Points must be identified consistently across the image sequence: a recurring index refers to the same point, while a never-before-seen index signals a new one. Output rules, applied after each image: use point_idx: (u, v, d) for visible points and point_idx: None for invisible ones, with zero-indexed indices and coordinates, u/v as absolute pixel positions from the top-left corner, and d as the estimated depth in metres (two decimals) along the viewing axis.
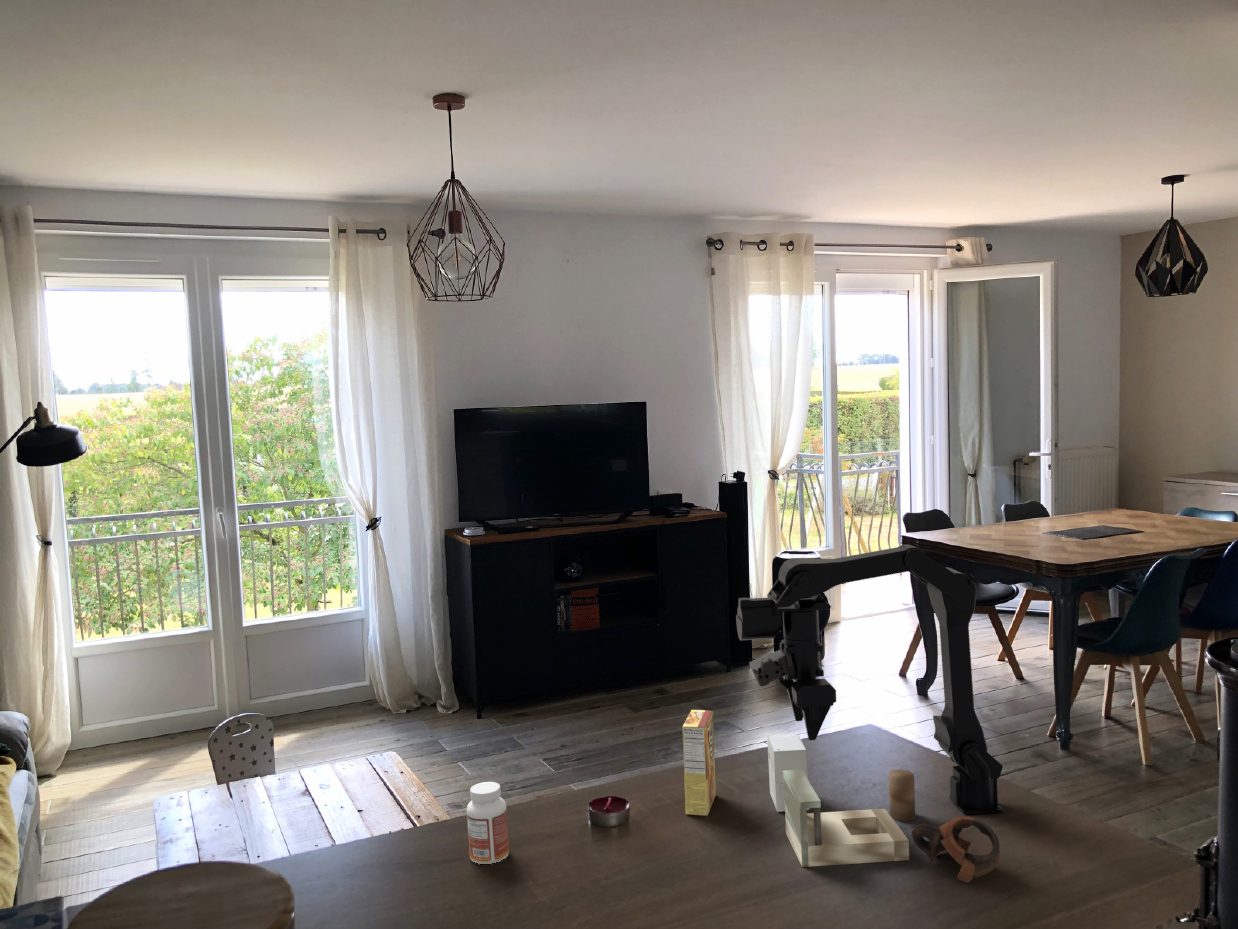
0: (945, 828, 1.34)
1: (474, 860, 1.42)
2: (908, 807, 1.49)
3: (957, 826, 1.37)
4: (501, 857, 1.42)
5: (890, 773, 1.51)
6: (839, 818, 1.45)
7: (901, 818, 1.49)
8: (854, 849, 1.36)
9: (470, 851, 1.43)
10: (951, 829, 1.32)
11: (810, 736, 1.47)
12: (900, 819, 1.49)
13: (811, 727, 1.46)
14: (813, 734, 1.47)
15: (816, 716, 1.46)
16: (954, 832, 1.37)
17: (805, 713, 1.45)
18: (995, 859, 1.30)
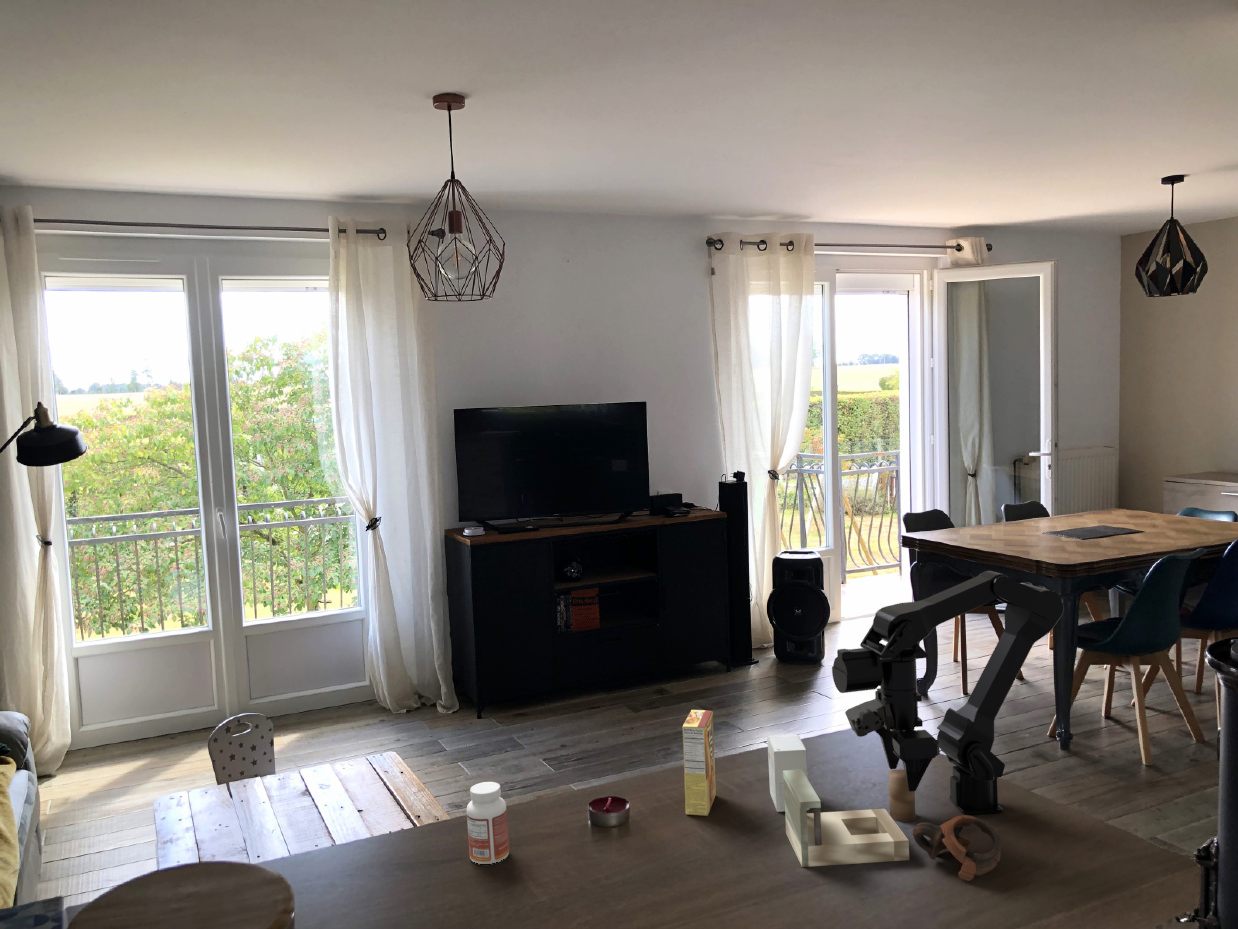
0: (946, 827, 1.34)
1: (474, 860, 1.42)
2: (908, 807, 1.49)
3: (958, 825, 1.37)
4: (501, 857, 1.42)
5: (890, 773, 1.51)
6: (839, 818, 1.45)
7: (901, 818, 1.49)
8: (854, 849, 1.36)
9: (470, 851, 1.43)
10: (952, 828, 1.32)
11: (910, 787, 1.46)
12: (900, 819, 1.49)
13: (912, 779, 1.45)
14: (914, 785, 1.46)
15: (917, 768, 1.45)
16: (955, 831, 1.38)
17: (906, 765, 1.44)
18: (996, 858, 1.30)
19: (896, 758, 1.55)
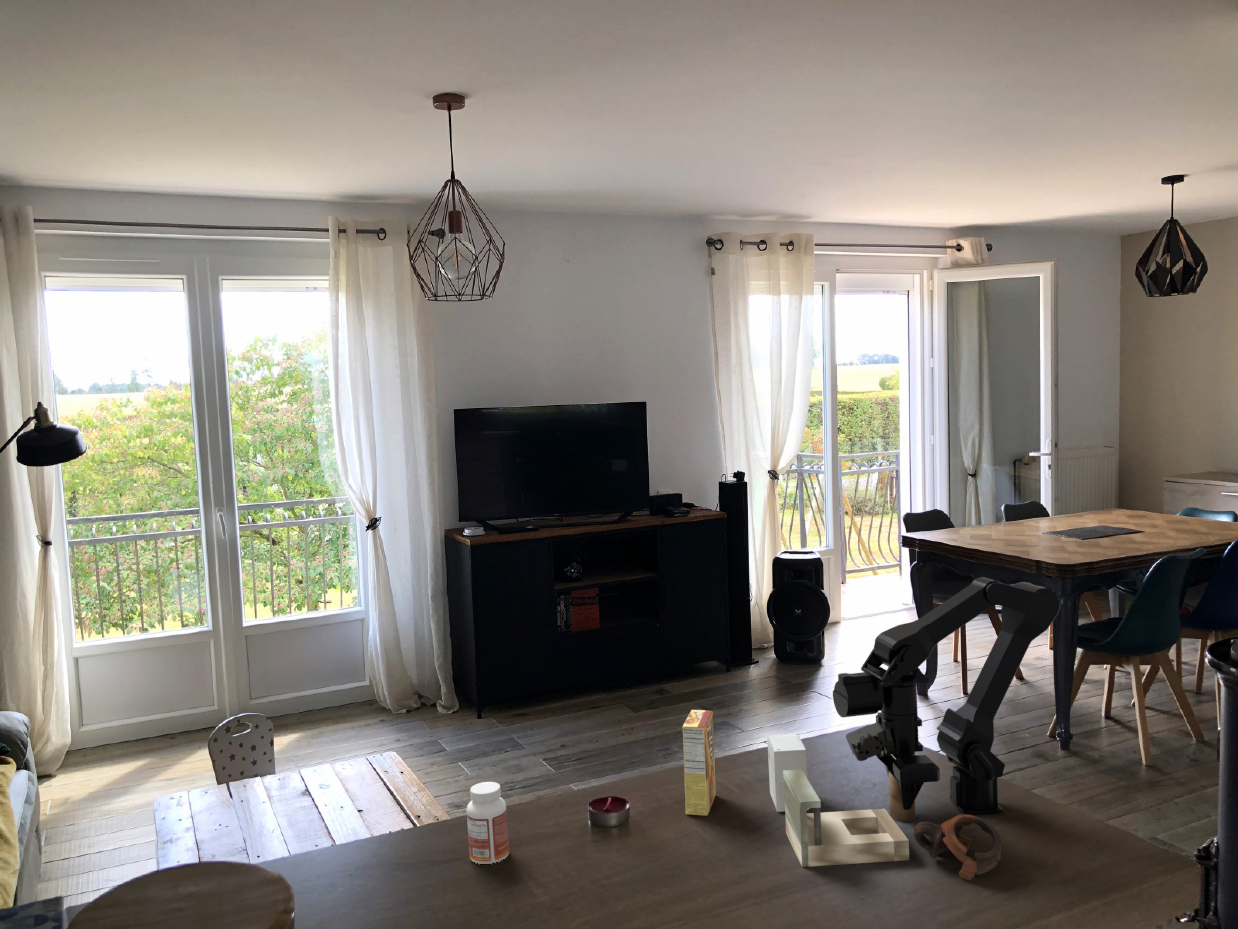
0: (947, 826, 1.34)
1: (474, 860, 1.42)
2: None
3: (958, 824, 1.37)
4: (501, 857, 1.42)
5: (890, 773, 1.51)
6: (839, 818, 1.45)
7: (901, 818, 1.49)
8: (854, 849, 1.36)
9: (470, 851, 1.43)
10: (953, 827, 1.33)
11: (905, 806, 1.49)
12: (900, 819, 1.49)
13: (906, 797, 1.48)
14: (908, 804, 1.48)
15: (912, 786, 1.48)
16: (955, 830, 1.38)
17: (901, 784, 1.47)
18: (996, 856, 1.31)
19: None
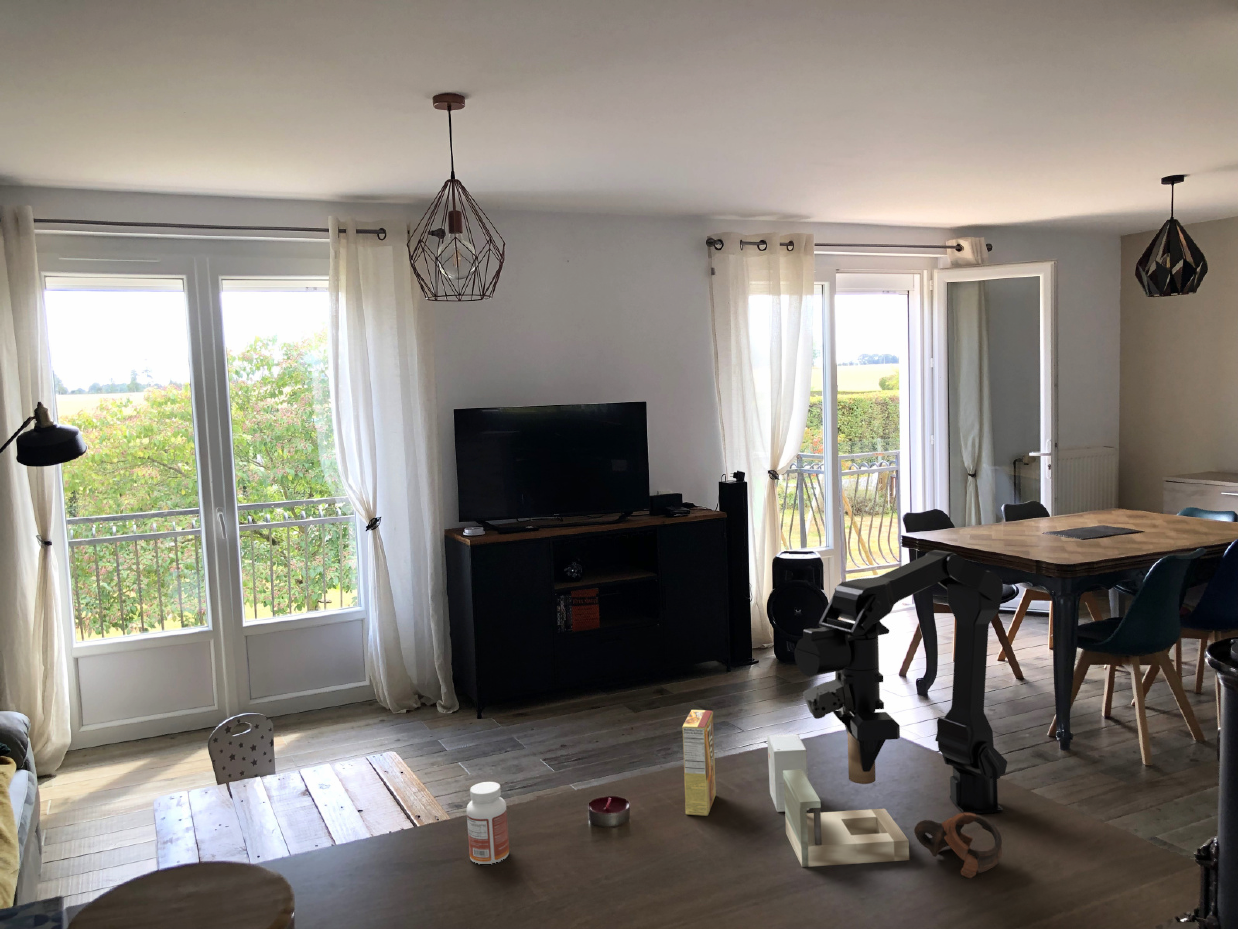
0: (948, 824, 1.35)
1: (474, 860, 1.42)
2: None
3: (959, 822, 1.38)
4: (501, 857, 1.42)
5: (849, 733, 1.42)
6: (839, 818, 1.45)
7: (860, 780, 1.40)
8: (854, 849, 1.36)
9: (470, 851, 1.43)
10: (954, 825, 1.33)
11: (864, 767, 1.39)
12: (859, 781, 1.40)
13: (866, 758, 1.38)
14: (868, 765, 1.39)
15: (871, 746, 1.38)
16: (956, 828, 1.39)
17: (860, 743, 1.37)
18: (998, 854, 1.31)
19: None
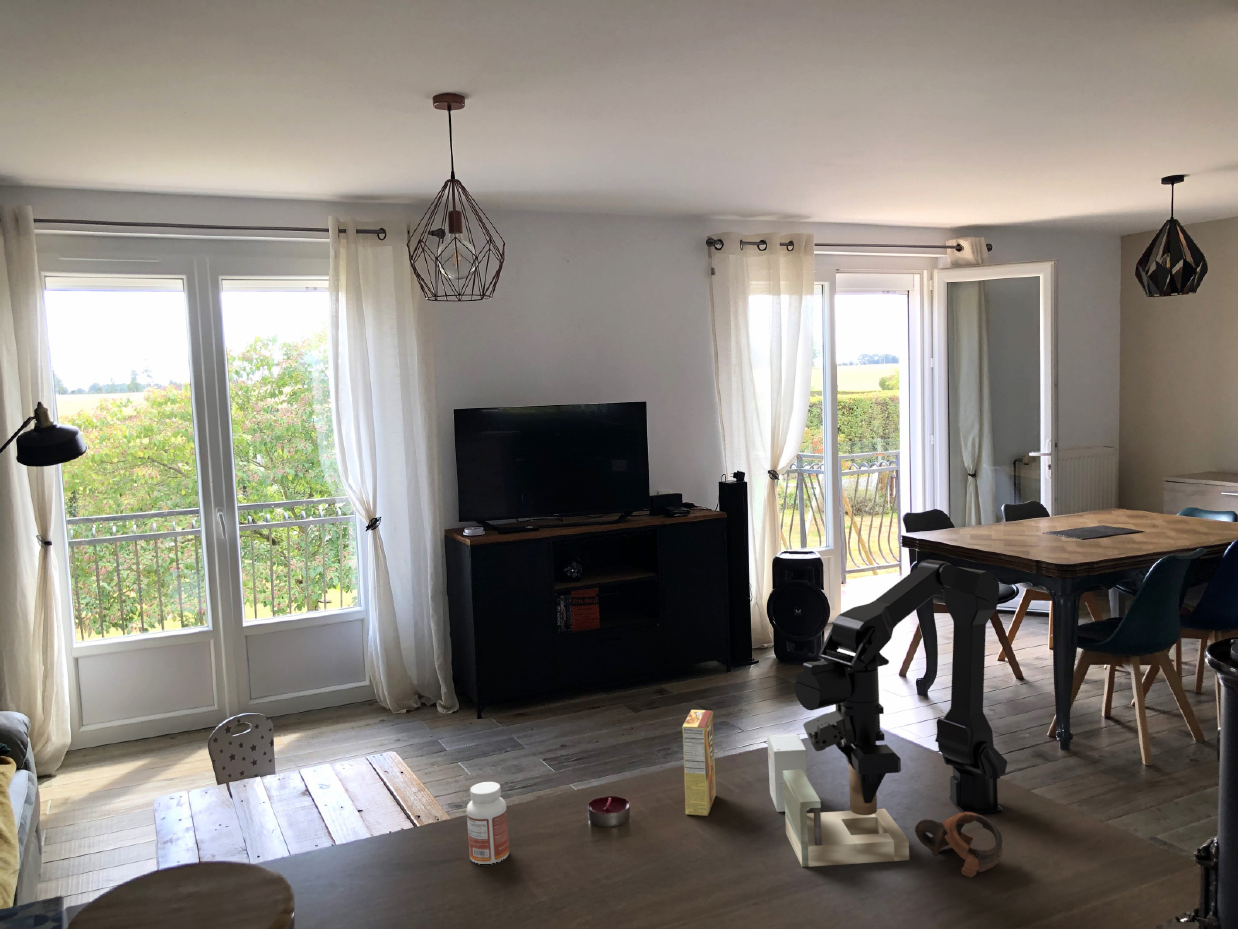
0: (948, 823, 1.35)
1: (474, 860, 1.42)
2: None
3: (960, 821, 1.38)
4: (501, 857, 1.42)
5: None
6: (839, 818, 1.45)
7: (861, 812, 1.40)
8: (854, 849, 1.36)
9: (470, 851, 1.43)
10: (955, 824, 1.33)
11: (866, 799, 1.39)
12: (860, 813, 1.40)
13: (867, 790, 1.38)
14: (869, 797, 1.39)
15: (873, 778, 1.38)
16: (956, 827, 1.39)
17: (861, 775, 1.37)
18: (998, 854, 1.32)
19: None
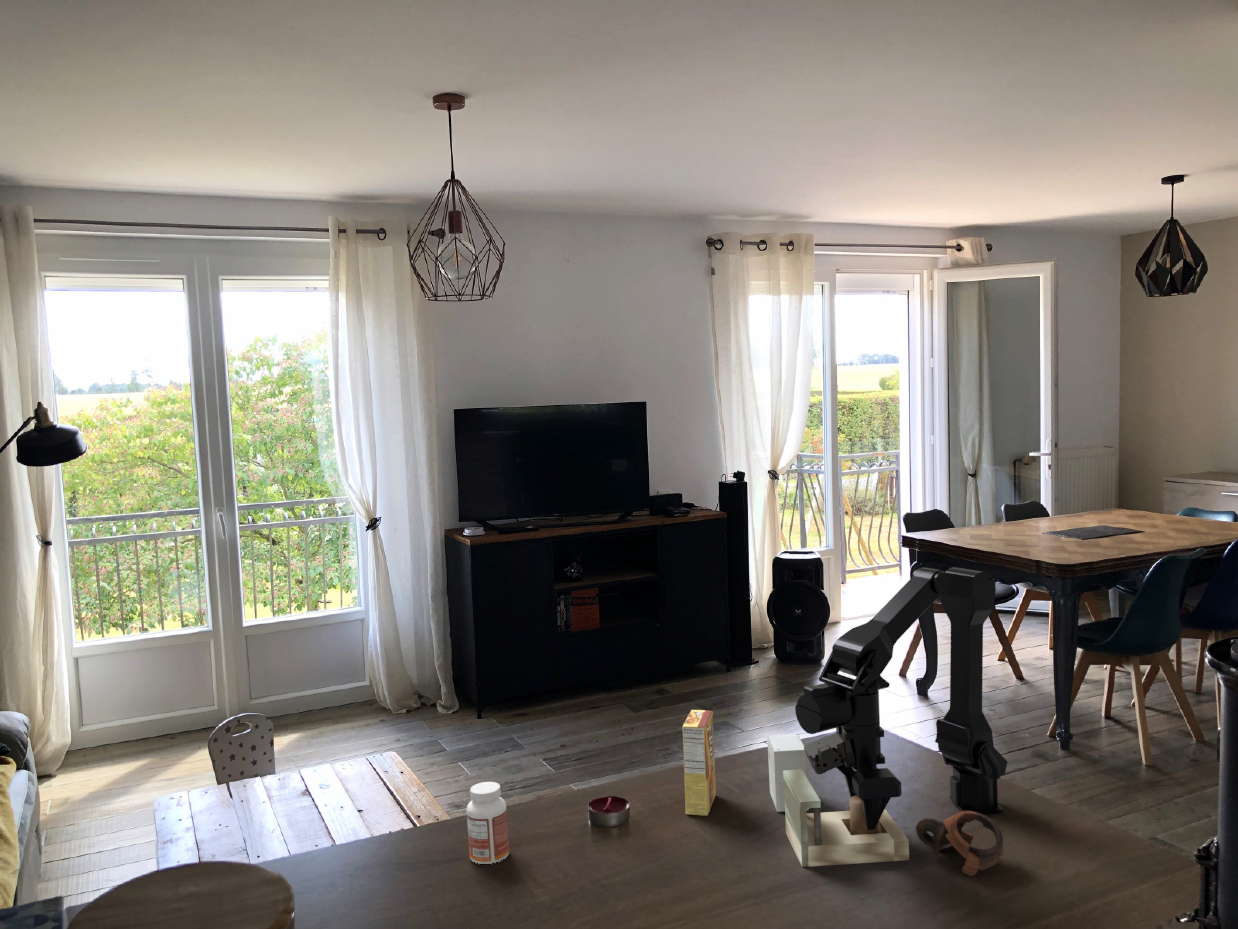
0: (949, 822, 1.35)
1: (474, 860, 1.42)
2: None
3: (960, 820, 1.39)
4: (501, 857, 1.42)
5: (851, 799, 1.42)
6: (839, 818, 1.45)
7: None
8: (854, 849, 1.36)
9: (470, 851, 1.43)
10: (955, 823, 1.34)
11: (869, 826, 1.38)
12: None
13: (870, 817, 1.37)
14: (873, 824, 1.38)
15: (876, 805, 1.37)
16: (957, 826, 1.39)
17: (864, 802, 1.36)
18: (999, 852, 1.32)
19: None
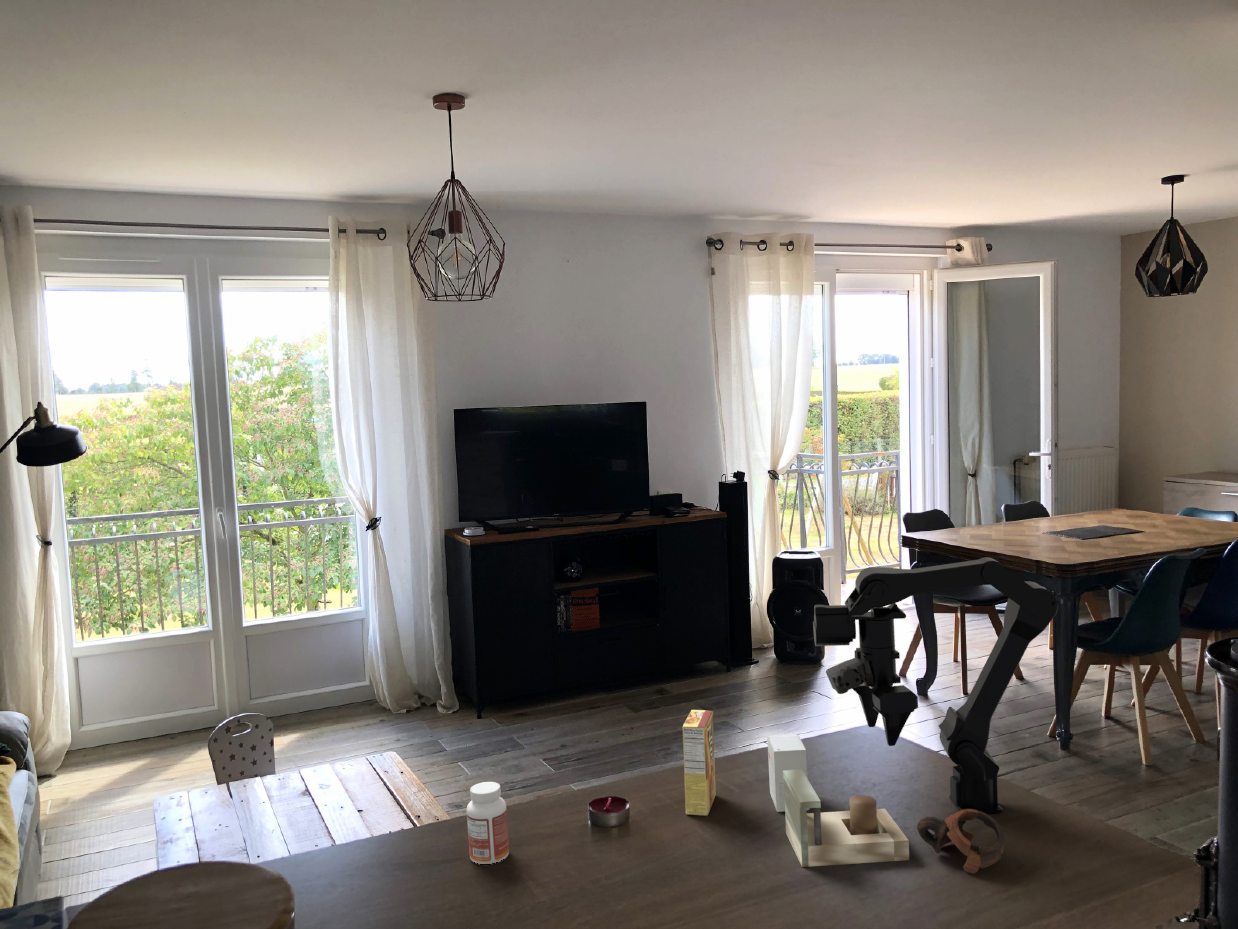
0: (950, 820, 1.36)
1: (474, 860, 1.42)
2: None
3: (961, 819, 1.39)
4: (501, 857, 1.42)
5: (851, 799, 1.42)
6: (839, 818, 1.45)
7: None
8: (854, 849, 1.36)
9: (470, 851, 1.43)
10: (957, 821, 1.34)
11: (890, 742, 1.50)
12: None
13: (891, 733, 1.49)
14: (893, 740, 1.50)
15: (896, 722, 1.49)
16: (958, 824, 1.40)
17: (886, 719, 1.48)
18: (1000, 850, 1.33)
19: (875, 716, 1.59)
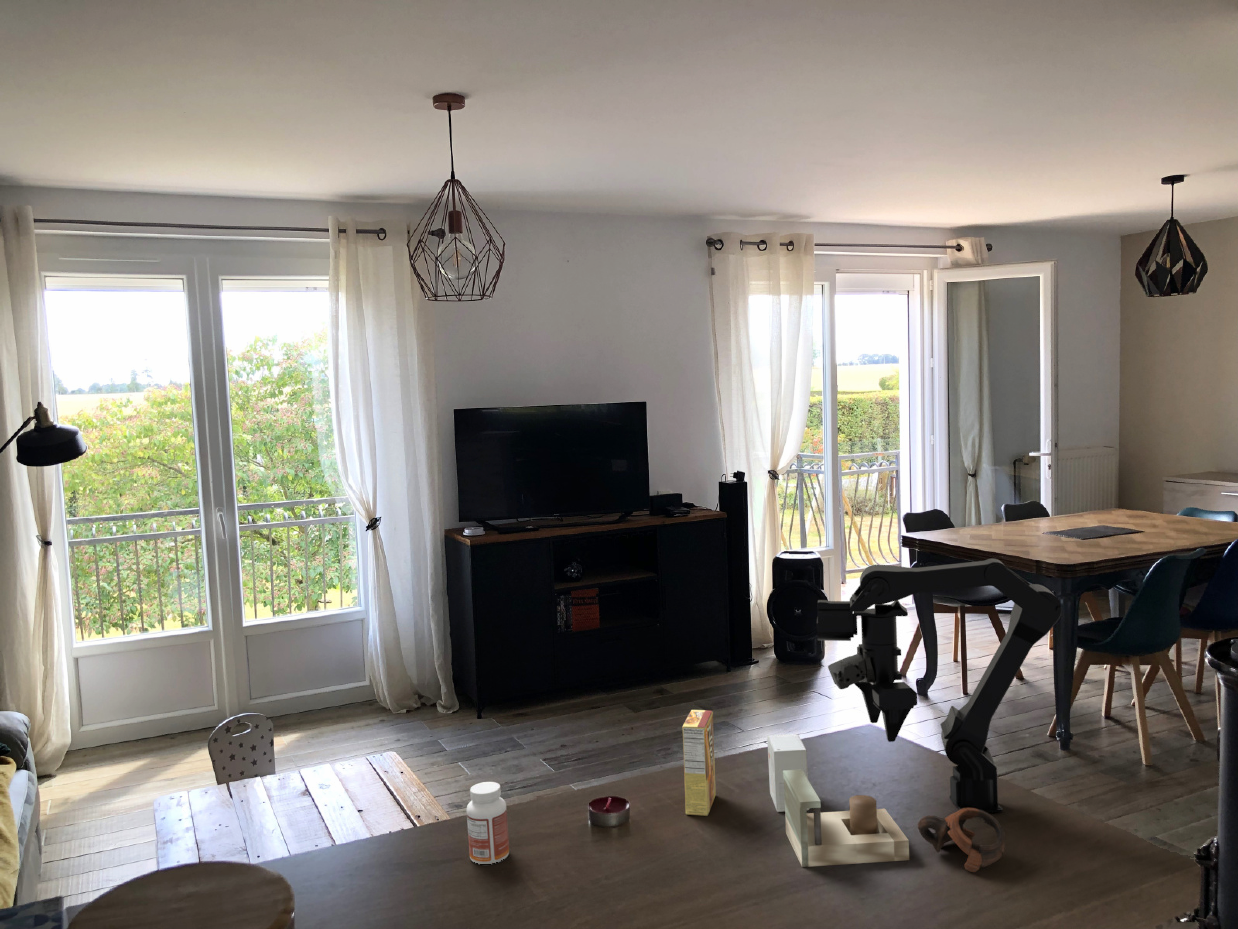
0: (951, 819, 1.36)
1: (474, 860, 1.42)
2: None
3: (961, 817, 1.40)
4: (501, 857, 1.42)
5: (851, 799, 1.42)
6: (839, 818, 1.45)
7: None
8: (854, 849, 1.36)
9: (470, 851, 1.43)
10: (957, 820, 1.35)
11: (889, 738, 1.52)
12: None
13: (891, 729, 1.51)
14: (893, 736, 1.51)
15: (896, 718, 1.51)
16: (958, 823, 1.40)
17: (886, 715, 1.50)
18: (1000, 849, 1.33)
19: (877, 712, 1.61)
